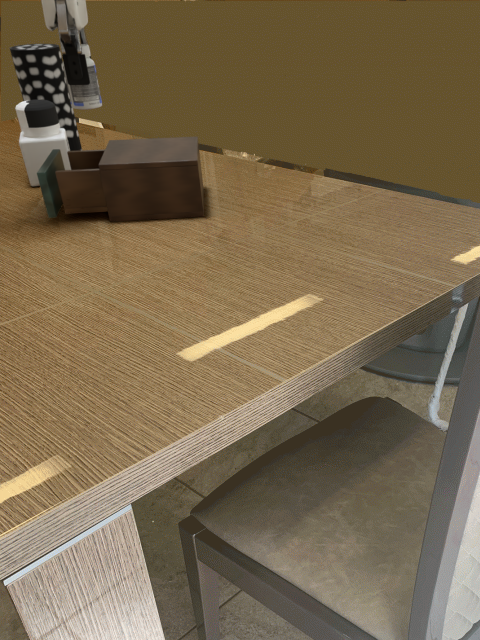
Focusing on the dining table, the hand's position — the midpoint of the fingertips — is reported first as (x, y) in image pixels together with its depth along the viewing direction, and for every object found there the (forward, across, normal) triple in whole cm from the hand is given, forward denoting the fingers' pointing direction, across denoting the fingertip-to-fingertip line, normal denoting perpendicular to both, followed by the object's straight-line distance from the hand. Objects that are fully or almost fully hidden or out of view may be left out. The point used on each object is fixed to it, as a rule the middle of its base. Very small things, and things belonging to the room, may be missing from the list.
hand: (81, 80), depth 99 cm
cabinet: (+18, +5, +10) cm, 21 cm away
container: (+18, -12, -10) cm, 24 cm away
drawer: (+17, +5, -1) cm, 18 cm away
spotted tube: (+18, -22, -10) cm, 30 cm away
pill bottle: (+4, 0, 0) cm, 4 cm away
